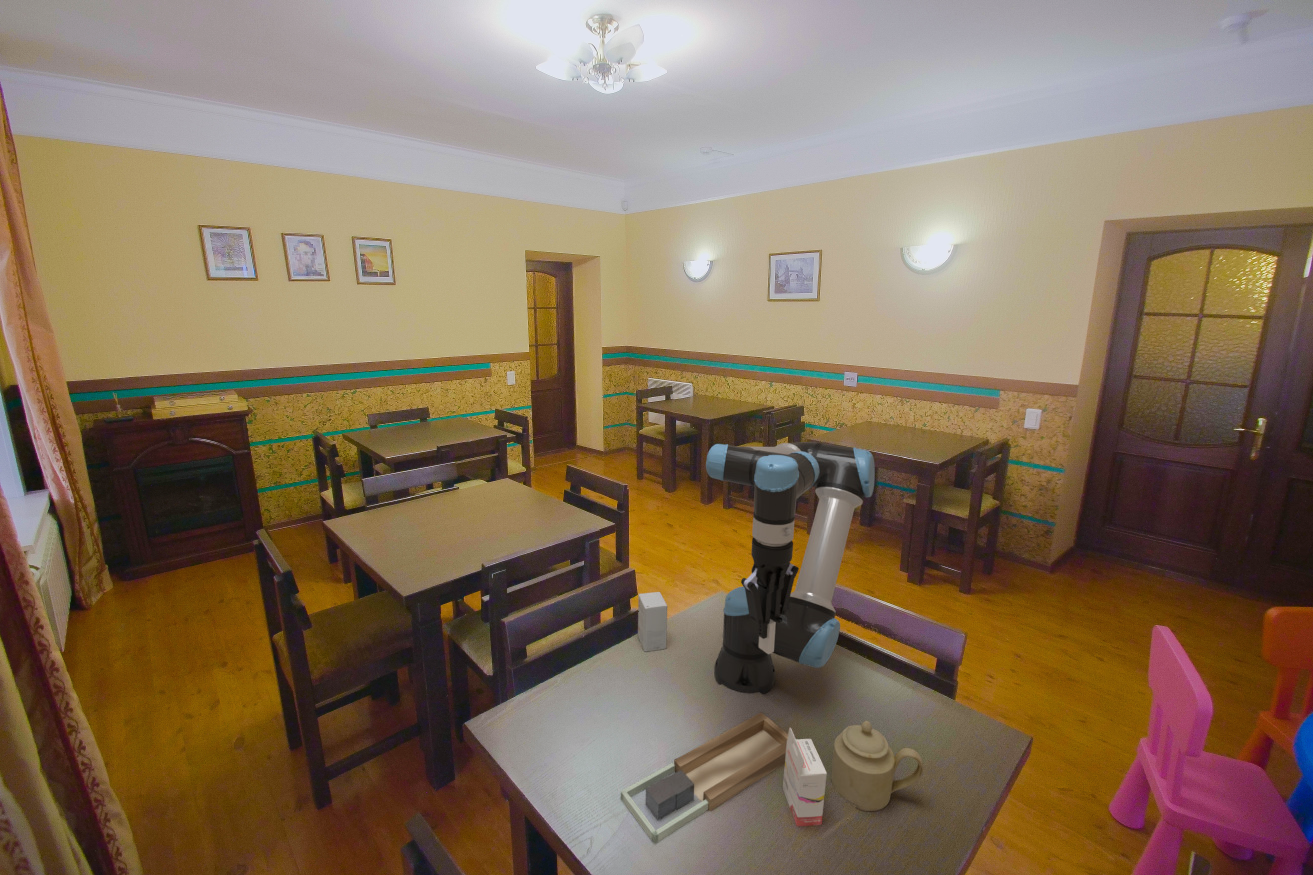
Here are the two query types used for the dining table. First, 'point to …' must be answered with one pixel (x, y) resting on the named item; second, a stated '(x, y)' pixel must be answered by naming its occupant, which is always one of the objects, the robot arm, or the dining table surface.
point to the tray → (652, 833)
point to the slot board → (734, 759)
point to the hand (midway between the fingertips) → (766, 649)
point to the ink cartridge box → (804, 781)
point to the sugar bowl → (868, 767)
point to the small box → (652, 621)
